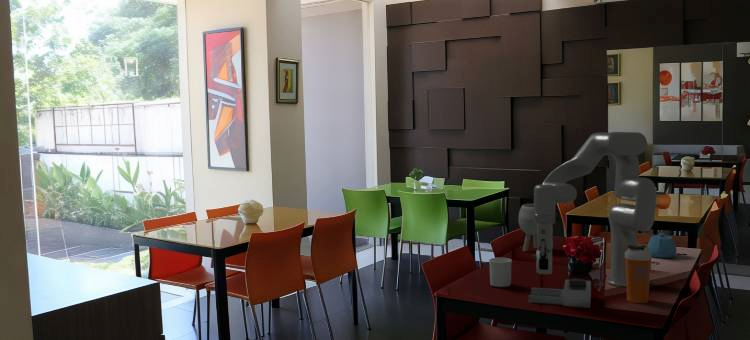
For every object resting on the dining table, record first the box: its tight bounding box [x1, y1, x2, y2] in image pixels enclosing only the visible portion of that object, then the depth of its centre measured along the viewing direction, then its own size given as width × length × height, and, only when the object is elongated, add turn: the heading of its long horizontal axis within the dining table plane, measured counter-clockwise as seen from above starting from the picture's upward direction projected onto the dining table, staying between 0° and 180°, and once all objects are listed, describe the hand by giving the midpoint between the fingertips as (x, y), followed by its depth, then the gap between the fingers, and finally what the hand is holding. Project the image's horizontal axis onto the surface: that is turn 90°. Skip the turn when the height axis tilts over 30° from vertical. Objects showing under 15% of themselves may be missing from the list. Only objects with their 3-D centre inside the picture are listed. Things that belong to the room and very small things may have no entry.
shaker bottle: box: [625, 244, 652, 304], centre depth 235 cm, size 9×9×20 cm
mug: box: [488, 257, 513, 289], centre depth 261 cm, size 11×9×10 cm
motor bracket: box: [528, 278, 592, 309], centre depth 240 cm, size 21×17×8 cm
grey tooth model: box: [517, 203, 538, 252], centre depth 322 cm, size 16×16×22 cm
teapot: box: [646, 232, 678, 259], centre depth 303 cm, size 13×11×18 cm
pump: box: [531, 249, 553, 275], centre depth 240 cm, size 7×6×9 cm
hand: (544, 267), depth 240 cm, fingers closed on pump, 5 cm apart
